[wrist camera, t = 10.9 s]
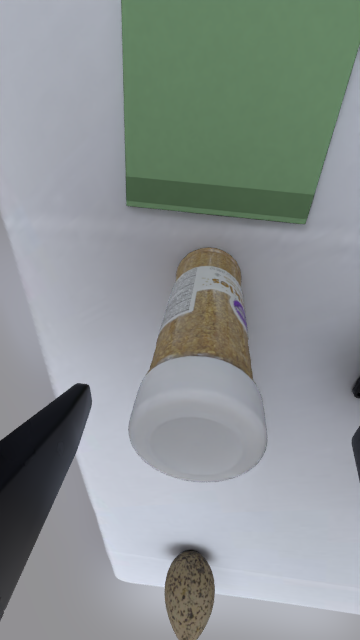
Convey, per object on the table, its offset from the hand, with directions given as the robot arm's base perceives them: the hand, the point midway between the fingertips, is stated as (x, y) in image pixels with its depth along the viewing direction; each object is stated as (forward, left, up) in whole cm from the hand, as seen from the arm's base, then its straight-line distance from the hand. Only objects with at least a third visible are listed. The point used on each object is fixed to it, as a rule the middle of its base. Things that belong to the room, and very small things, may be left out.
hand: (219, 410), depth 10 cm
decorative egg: (-47, -3, -13) cm, 49 cm away
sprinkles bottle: (-1, +1, -13) cm, 13 cm away
